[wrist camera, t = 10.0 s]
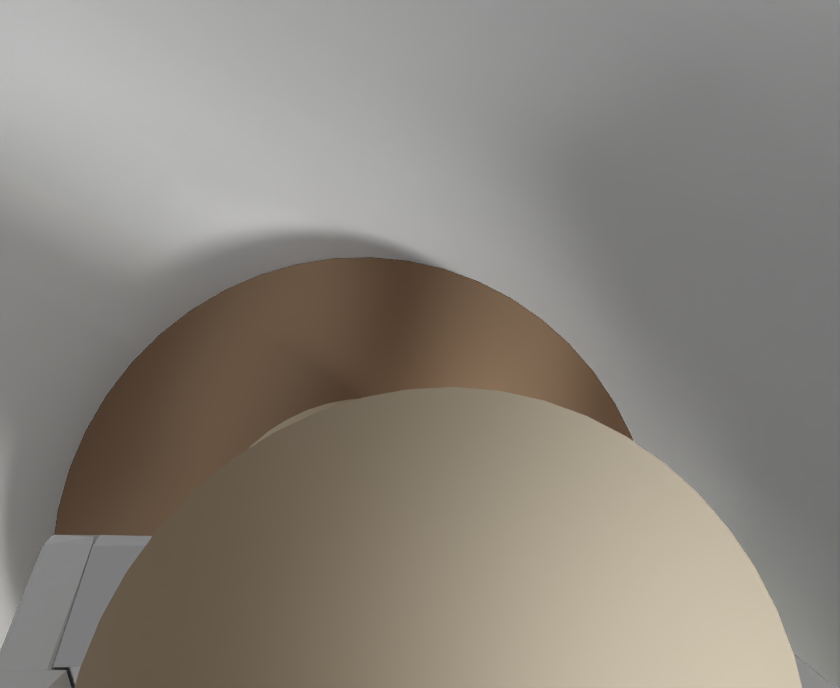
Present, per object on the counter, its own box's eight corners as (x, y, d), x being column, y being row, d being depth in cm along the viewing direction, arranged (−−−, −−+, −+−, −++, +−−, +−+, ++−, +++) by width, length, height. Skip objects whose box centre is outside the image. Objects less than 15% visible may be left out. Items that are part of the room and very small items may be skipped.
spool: (522, 404, 16) (895, 270, 6) (527, 731, 15) (997, 1335, 5) (209, 399, 16) (-52, 233, 5) (192, 741, 15) (-189, 1491, 4)
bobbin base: (623, 280, 22) (644, 266, 20) (645, 834, 19) (671, 865, 18) (94, 263, 20) (75, 247, 19) (50, 862, 18) (24, 898, 16)
